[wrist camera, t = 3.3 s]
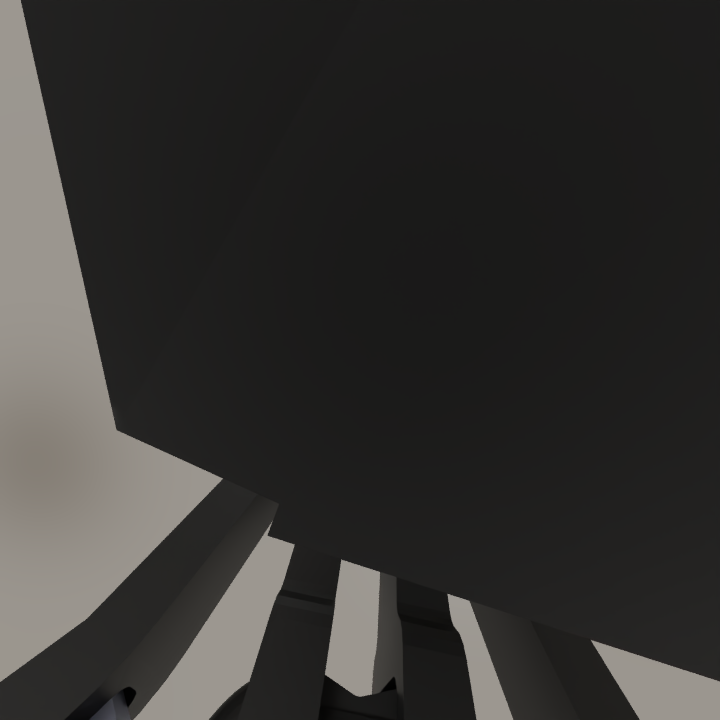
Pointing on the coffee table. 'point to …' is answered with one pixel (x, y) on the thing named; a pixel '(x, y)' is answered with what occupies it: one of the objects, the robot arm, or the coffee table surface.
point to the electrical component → (420, 282)
